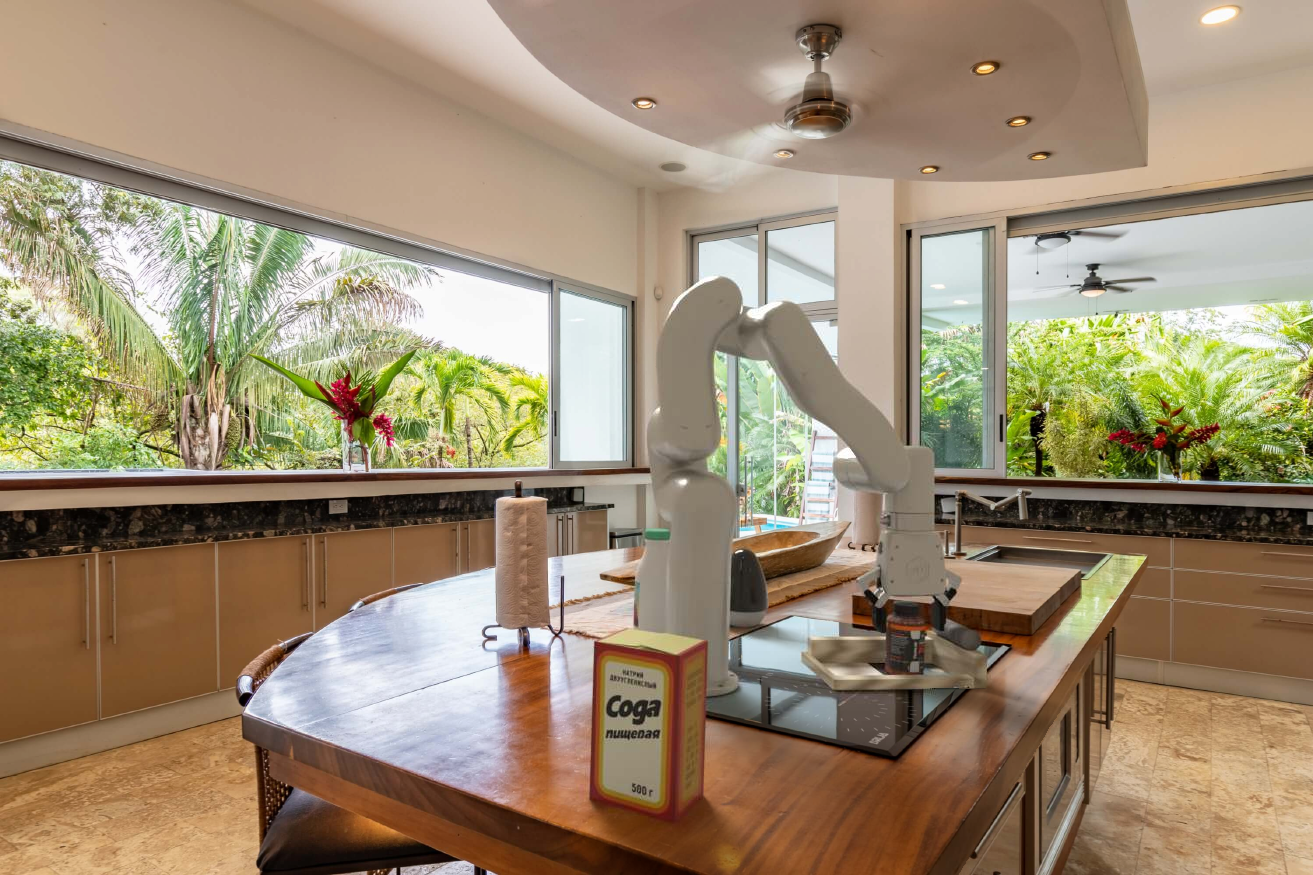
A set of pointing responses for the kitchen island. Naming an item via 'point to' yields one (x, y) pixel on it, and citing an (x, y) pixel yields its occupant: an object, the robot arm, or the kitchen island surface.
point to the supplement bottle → (905, 640)
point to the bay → (850, 670)
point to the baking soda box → (648, 722)
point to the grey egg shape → (747, 590)
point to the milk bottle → (652, 583)
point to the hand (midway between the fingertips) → (909, 630)
